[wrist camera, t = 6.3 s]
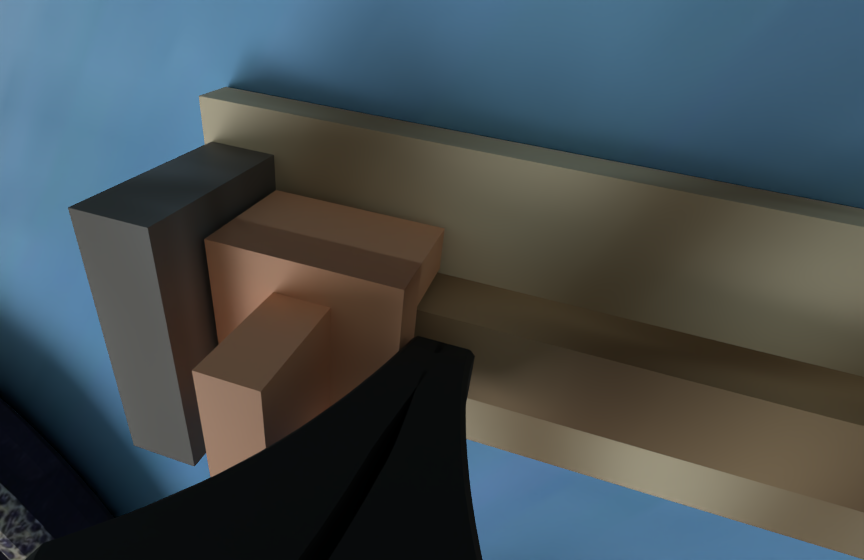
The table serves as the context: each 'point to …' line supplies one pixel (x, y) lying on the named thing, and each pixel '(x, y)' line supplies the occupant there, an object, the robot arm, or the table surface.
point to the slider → (303, 314)
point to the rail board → (597, 264)
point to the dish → (38, 491)
